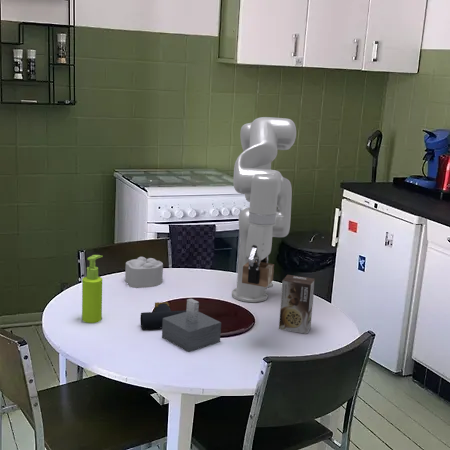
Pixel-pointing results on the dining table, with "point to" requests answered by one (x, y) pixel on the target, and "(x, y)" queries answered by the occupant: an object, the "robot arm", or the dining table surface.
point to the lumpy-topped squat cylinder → (143, 272)
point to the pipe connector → (157, 316)
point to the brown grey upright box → (296, 303)
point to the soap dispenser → (92, 293)
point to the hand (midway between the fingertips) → (257, 278)
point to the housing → (191, 328)
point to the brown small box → (265, 274)
